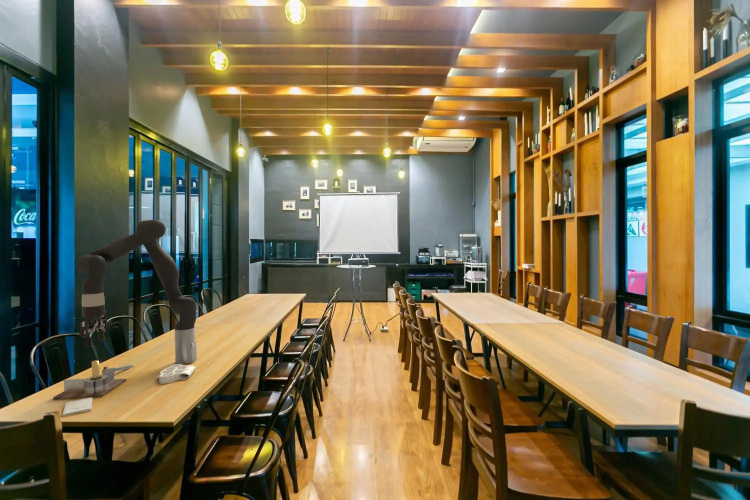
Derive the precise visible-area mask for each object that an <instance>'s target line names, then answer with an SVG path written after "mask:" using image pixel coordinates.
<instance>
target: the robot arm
mask: <svg viewBox="0 0 750 500" xmlns="http://www.w3.org/2000/svg"><path fill="white" fill-rule="evenodd" d="M135 228H136V232H134V233H131V234H130V235H127V236H124V237H121V238H119V239H117V240H115V241H113V242H111V243H109V244H107V245H106V246H103V247H102V248H99V249H97V250H95V251H91V252H90V253H87V254H85V255H83V256H81V257H80V258H79V259H78V261H77V262H76V268H77V270H79V271H80V272H82V273H84V274H85V273H87V278H86V279H84V280H82V282H81V292H82V293H81V314H82V315H81V316H82V317H83V318H85V321H80V323H79V337H80V338H83V339H84V347H85V348H91V347H92V346H93V341H92V338H93V337H92V335H93V333H95V331H97V341H98V342H104V341H105V332H106V330H108V329H109V324H108V316H107V315H106V306H105V305H106V303H105V302H106V301H105V300H106V299H105V295H104V281H105V276H106V273H107V268H108V267H107V264H108V263H113V262H115V261H116V260H118V259H121V258H122V257H124V256H125V255H126V254H129V253H130V252H133V251H134V250H136V249H137V248H139V247H142V246H143V247H144V248H145V250H146V252H147V254H148V256H149V258H150V261H151V262H152V265H153V267H154V270H155V271H156V274H157V277H158V278H159V280H160V283H161V285H162V287H163V290H164V292H165V296H166V298H167V301H168V305H169V307H170V310H171V312H172V313H173V314H175V315H178V316H179V321H178V322H176V323H174V327H173V328H174V357H175V358H174V362H175V364H182V365H185V364H186V365H187V364H193V363H195V361H197V359H198V357H197V355H198V354H197V353H198V352H197V341H195V339H196V337H195V336H196V334H195V331H196V330H195V324H196V321H197V302H196V300H195V299H194V298H193V297H188V296H183V294H182V291H181V289H180V286H179V284H180V283H179V281H180V271H179V268H178V265H177V264H176V261H175V259H174V258H173V257H172V256H171V255H170V254H169V252H167V251H166V250H165V248H163V247H162V246H161V243H160V242H159V240H158V239H161V238H162V237H164V235H165V233H166V231H167V230H166V225H165V224H164V222H163V221H162V220H159V219H146V220H140V221H139V222H138V223H137V225H136V227H135Z"/></svg>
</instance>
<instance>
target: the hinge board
mask: <svg viewBox="0 0 750 500" xmlns="http://www.w3.org/2000/svg"><path fill="white" fill-rule="evenodd" d="M126 382H127V378H114V380H113V381H111V382H110V383H109V389H107V390H106V391H103V392H100V393H94V394H85V393H84V391H80V392H64V390H63V391H62V392H59V393H57V394H56V395H54V396H52V400H53V401H55V400H72V399H85V398H103V397H105V396H106V395H107V394H109V393H110V392H112V391H113V390H115V389H116V388H118V387H119V386H121V385H122V384H124V383H126Z"/></svg>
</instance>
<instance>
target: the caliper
mask: <svg viewBox="0 0 750 500" xmlns="http://www.w3.org/2000/svg"><path fill="white" fill-rule="evenodd" d="M133 367H134V365H132V364H128V365H122V366H119V367H109V366H104V367H103V369H102V371H101V375H102V374H104V373H105V372H107V371H109V370H111V369H114V374H115V372H118V371H123V370H130V369H131V368H133Z"/></svg>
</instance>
